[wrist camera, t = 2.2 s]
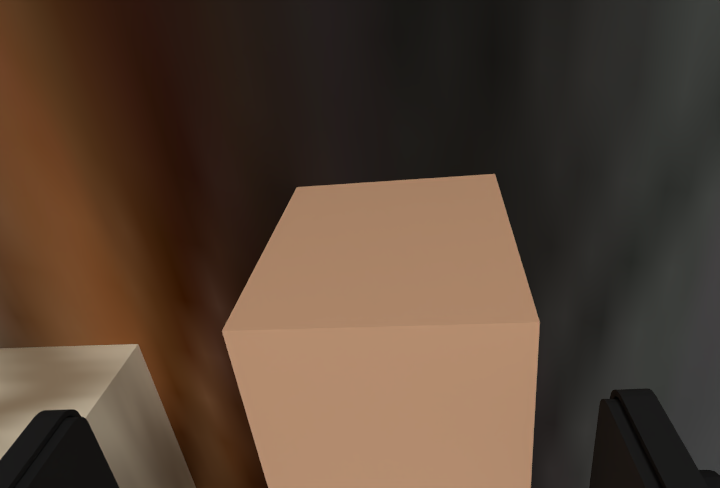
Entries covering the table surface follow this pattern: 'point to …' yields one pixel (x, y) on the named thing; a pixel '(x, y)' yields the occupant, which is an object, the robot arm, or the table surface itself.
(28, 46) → the table surface
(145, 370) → the beech base block
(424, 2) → the table surface
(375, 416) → the terracotta block
